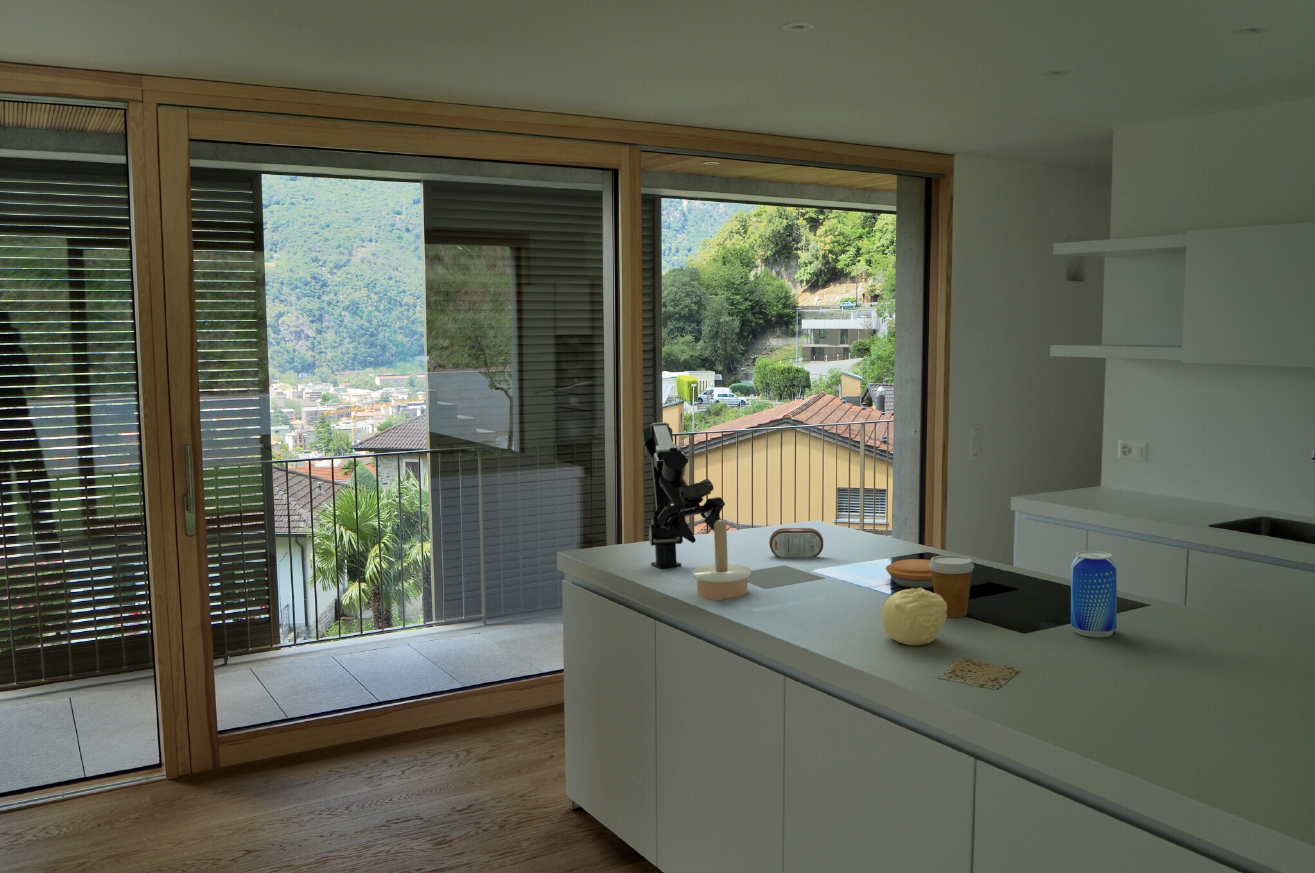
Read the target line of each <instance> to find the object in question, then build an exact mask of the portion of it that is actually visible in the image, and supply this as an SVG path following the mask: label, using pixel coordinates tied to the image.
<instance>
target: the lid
mask: <svg viewBox="0 0 1315 873" xmlns="http://www.w3.org/2000/svg"><path fill="white" fill-rule="evenodd" d="M713 532H714V536H713V537H714V539H713V540H714V562H715V564H714V563H713V564H707V565H702V566H699V567H696V568H694V569H693V570H692V577H693V578H694V579H695V580H696V581H697V580H700V581H706V582H734V581H740V580H744V579H747V578H749V577H750V576H751V571H752V570H751V568H750V567H748V566H747V565H746V566H745V565H742V564H736V563H735V564H734V563H733V564H732V563H728V561H729V560H728V534H727V533H728V532H727V522H726V521H725V520H723V519H720V520H717V521H716V522H715V524H714V531H713Z"/></svg>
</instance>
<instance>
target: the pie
mask: <svg viewBox="0 0 1315 873" xmlns="http://www.w3.org/2000/svg"><path fill="white" fill-rule="evenodd" d="M930 561H931V559H922V558H921V559H919V558H918V559H917V558H916V559H915V558H914V559H913V558H911V559H908V558H907V559H901V560H896V561H893V562H892V563H891V564H888V565H886V567H885V571H887V573H888V574H889V576H890V577H891V579H892V580H893V582H894V584H896V585H898V586H901V587H905V588H911V589H912V588H914V589H918V588H923V589H927V588H933V580H932V574H931V570H930V567H929V564H930Z"/></svg>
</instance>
